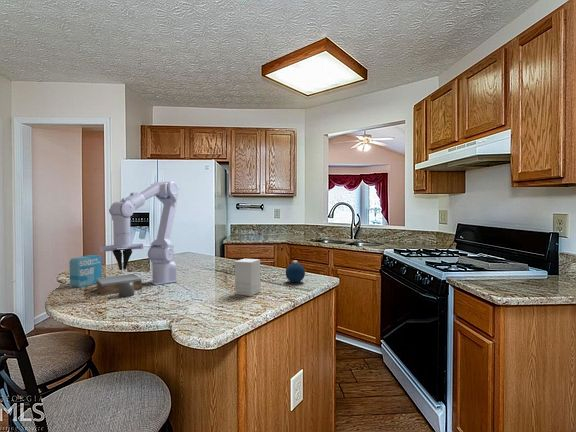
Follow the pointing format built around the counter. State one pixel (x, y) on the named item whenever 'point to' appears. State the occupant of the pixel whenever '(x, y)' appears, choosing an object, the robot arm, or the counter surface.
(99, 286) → the box
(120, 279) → the lid
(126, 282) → the dark grey rounded plug
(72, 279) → the data package
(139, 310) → the counter surface
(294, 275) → the christmas ornament
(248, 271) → the supplement box
